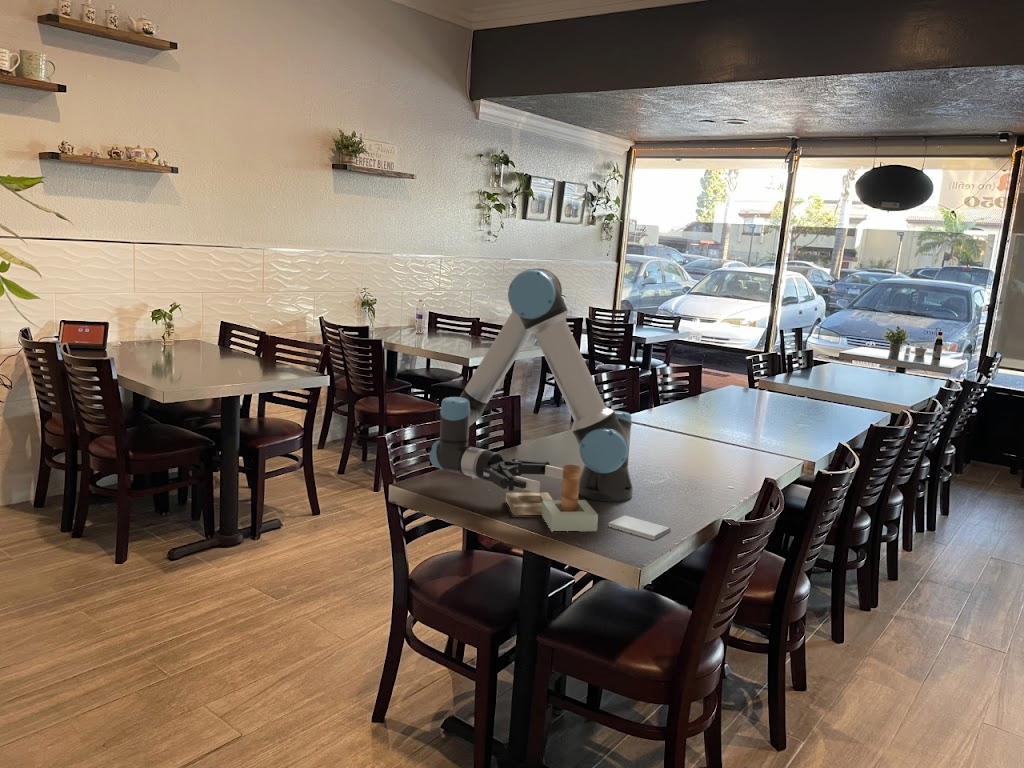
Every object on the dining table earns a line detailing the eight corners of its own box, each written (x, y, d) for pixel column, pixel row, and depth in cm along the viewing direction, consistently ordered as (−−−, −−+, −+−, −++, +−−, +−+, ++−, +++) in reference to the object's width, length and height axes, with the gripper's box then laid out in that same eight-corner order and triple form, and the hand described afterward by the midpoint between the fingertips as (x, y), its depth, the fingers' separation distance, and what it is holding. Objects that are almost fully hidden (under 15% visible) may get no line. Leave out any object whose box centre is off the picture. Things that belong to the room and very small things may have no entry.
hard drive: (671, 527, 187) (625, 514, 194) (654, 535, 180) (608, 521, 188) (670, 534, 187) (625, 520, 194) (653, 542, 180) (607, 528, 188)
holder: (547, 501, 204) (547, 492, 204) (556, 515, 194) (557, 506, 193) (505, 502, 202) (505, 492, 202) (513, 516, 192) (513, 506, 191)
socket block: (584, 515, 195) (585, 500, 194) (596, 531, 184) (598, 514, 184) (541, 516, 193) (542, 500, 192) (551, 531, 182) (552, 515, 182)
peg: (574, 520, 191) (577, 464, 189) (578, 526, 187) (582, 469, 185) (558, 520, 190) (561, 464, 188) (562, 526, 186) (565, 469, 184)
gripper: (509, 468, 212) (578, 485, 200) (452, 489, 191) (524, 508, 180) (511, 441, 210) (580, 456, 199) (453, 459, 190) (526, 477, 178)
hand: (554, 481), depth 189 cm, fingers open, 13 cm apart
